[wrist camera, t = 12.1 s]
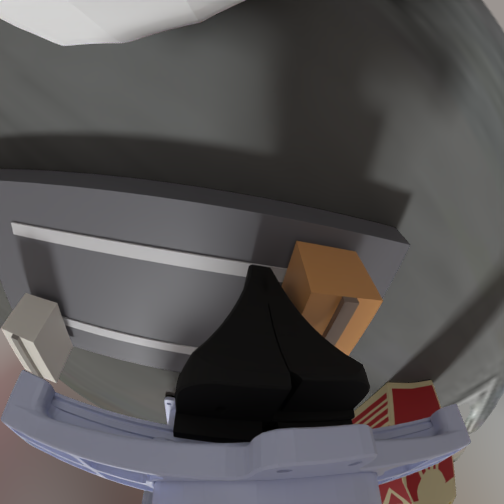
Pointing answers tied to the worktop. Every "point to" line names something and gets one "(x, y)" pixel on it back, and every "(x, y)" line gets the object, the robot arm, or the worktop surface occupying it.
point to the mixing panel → (158, 255)
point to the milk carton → (402, 411)
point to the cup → (106, 18)
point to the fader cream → (38, 336)
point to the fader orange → (332, 292)
